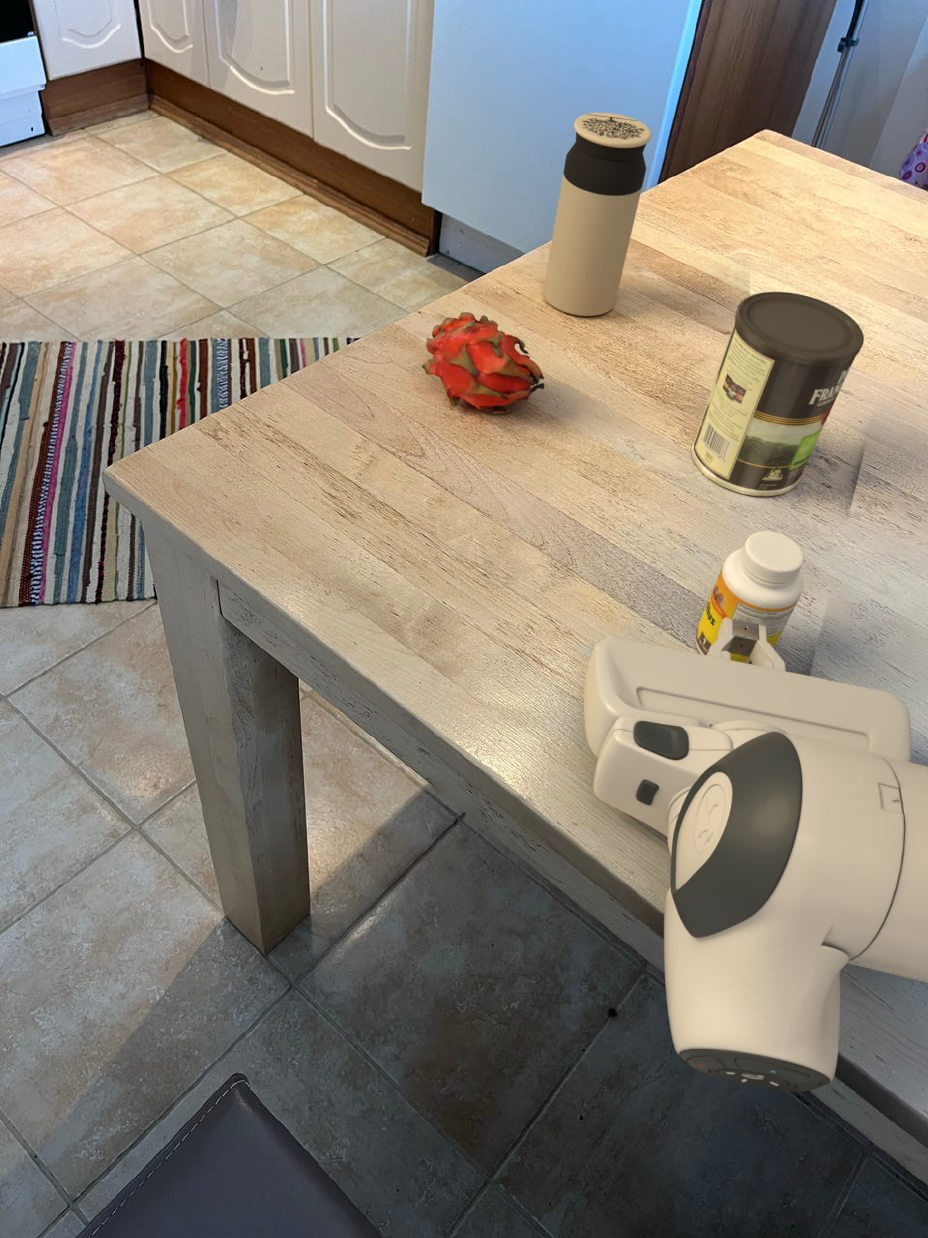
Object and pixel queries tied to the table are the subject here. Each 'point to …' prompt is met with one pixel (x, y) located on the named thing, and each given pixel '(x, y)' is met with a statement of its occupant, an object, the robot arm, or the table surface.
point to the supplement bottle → (755, 589)
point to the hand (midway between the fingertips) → (741, 627)
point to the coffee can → (774, 391)
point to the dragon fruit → (481, 364)
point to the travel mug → (596, 213)
